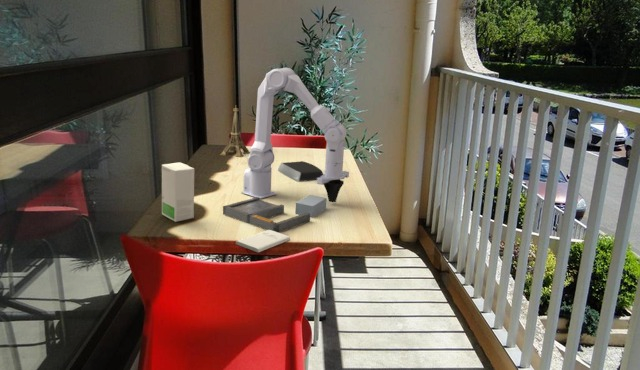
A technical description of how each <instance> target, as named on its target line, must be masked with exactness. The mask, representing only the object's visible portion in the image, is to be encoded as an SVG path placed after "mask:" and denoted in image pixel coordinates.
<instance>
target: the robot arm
mask: <svg viewBox="0 0 640 370" xmlns="http://www.w3.org/2000/svg"><path fill="white" fill-rule="evenodd" d="M282 90H283V91H284V92H289V93H292V94H294V95H295V96H296V97H297V98H298V99H299V100H300V102H302V103H303V105H305V107H306V108H307V109H308V110H309V111H310V119H311V120H312V121H313V122H314V123H315V124H316V126H317V127H318V128H319V129H320V131H321V132H322V133H324V136H323V137H324V139H325V141H326V146H325V147H326V149H325V164H324V165H325V166H324V173H323V174H324V175H322V176H321V177H319V178H317V180H316V184H317V185H323V186H324V188H325V191H326V195H327V200H328V202H330V203H337V199H338V195H339V193H340V192H341V191H340V190H341V189H342V187H343V185H344V180H345V178H347V179H348V178H349V177H350V171H347V170H343V169H344V154H345V153H344V151H345V141H344V140H345V138H347V137H346V136H347V128H346V127H345V125H343V124H342V123H340V121H339V120H338V119H337V120H336V118H335V117H334V116H333V115H332V113H331V109H330V107H326V106H325V105H320V104H319V103H318V102H317V101H316V98H314V96H313V95H312V94H311V92H310V91H309V90H308V89H307V87H306V85H305V84H304V82H303V81H302V80H301V78H300V76H299V75H298V74H297V73H295V71H294V70H293V69H292V68H291V67H282V68H273V69H271V70H270V71H269V72H267V73H265V77H264V79H263V80H262V82H261V83H260V84H259V86H258V88H257V96H256V97H257V98H256V112H255V113H256V116H255V130H254V131H255V132H254V142H253V144H252V146H251V148H250V151H249V152H250V154H248V157H247V160H246V161H247V168H246V169H245V170H244V173H243V186H242V187H243V191H241V194H244V195H246V196H249V197H252V198H256V197H259V198H260V200H262V199H264V198H268V197H272V196H275V195H277V192H275V191H272V165H273V163H275V154H274V151H273V144H272V141H271V139H272V123H273V110H274V99H275V98H274V96H275V95H277V94H278V93H280V92H281V91H282Z"/></svg>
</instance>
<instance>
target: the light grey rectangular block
mask: <svg viewBox="0 0 640 370" xmlns="http://www.w3.org/2000/svg"><path fill="white" fill-rule="evenodd" d="M327 200H328V197H325V196H324V197H323V196H319V195H318V196H316V195H313V194H309V195H306V197H304V198H302V199H300V200H298V201H296V202H295V211H294V213H295V215H297V214H298V215H301V214H304V213H310V218H314V217H316V216H317V215H319V214H321V213H322V212H324V211H325V210H327ZM298 215H297V216H298Z"/></svg>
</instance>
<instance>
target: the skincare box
mask: <svg viewBox="0 0 640 370" xmlns="http://www.w3.org/2000/svg"><path fill="white" fill-rule="evenodd" d="M194 209H195V168H194V167H191V166H189V165H188V164H185V163H182V162H181V161H180V162H173V163H164V164H161V214H162V216H164V217H166V218H168V219H169V220H171V221H174V222H175V223H177V222H181V221H187V220H190V219H191V220H192V219H194V218H195V217H194V216H195V210H194Z"/></svg>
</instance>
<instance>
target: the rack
mask: <svg viewBox="0 0 640 370" xmlns="http://www.w3.org/2000/svg"><path fill="white" fill-rule="evenodd" d="M284 213H285V204H275V203H271V202H268V201H264V200H262V199H260V198H259V197H252V198H250V199H245V200H241V201H237V202H234V203H230V204H226V205H224V206H222V215H224V214H225V215H224V216H227V217H229V218H233V219H235V218H236V220H238V219H239V220H238V221H241V222H244V223H247V224H250V225H252V226H255V227H258V228H260V227H261V229H263V230H265V231H266V230H272V231H275V232H278V233H282V232H284V231H287V230H289V229H292V228H295V227H299V226H302V225H304V224H306V223H309V222H311V217H310V213H304V214H301V215H296V216H293V217H290V218H289V217H288V218H287V219H284V220H281V221H277V222H275V221H274V220H273V219H270V218H273V217H276V216H279V215H281V214H284ZM272 216H273V217H272ZM269 217H270V218H269Z"/></svg>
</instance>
